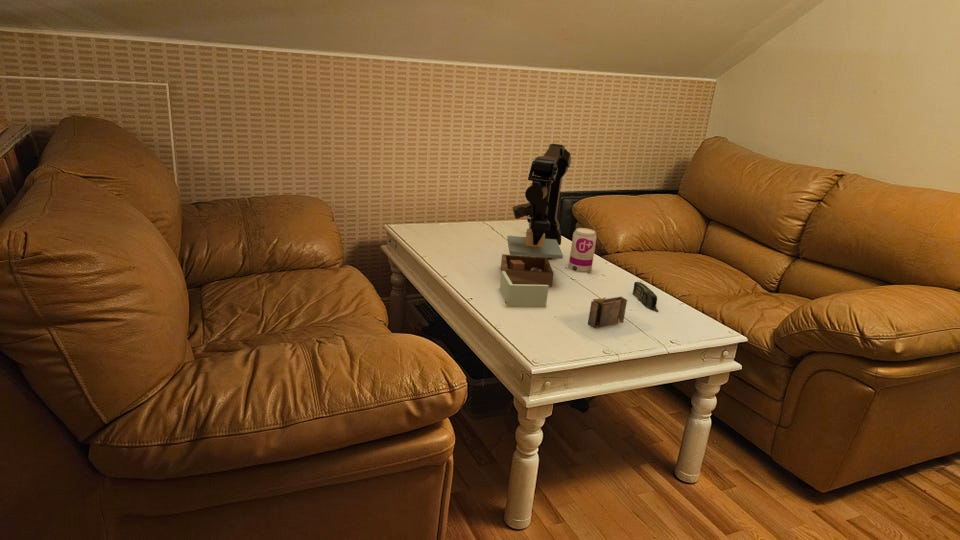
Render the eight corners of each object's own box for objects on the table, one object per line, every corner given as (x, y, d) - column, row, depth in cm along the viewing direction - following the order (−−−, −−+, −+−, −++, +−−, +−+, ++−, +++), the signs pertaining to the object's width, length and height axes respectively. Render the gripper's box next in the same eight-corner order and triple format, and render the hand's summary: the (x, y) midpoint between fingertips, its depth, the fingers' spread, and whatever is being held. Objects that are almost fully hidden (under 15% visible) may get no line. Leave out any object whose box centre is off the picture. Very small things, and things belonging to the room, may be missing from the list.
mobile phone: (633, 280, 199) (654, 297, 185) (641, 280, 199) (662, 297, 185) (630, 294, 200) (651, 312, 186) (639, 294, 201) (660, 312, 187)
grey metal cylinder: (529, 278, 203) (530, 267, 202) (539, 278, 203) (541, 267, 202) (530, 282, 200) (531, 270, 198) (540, 282, 200) (542, 271, 198)
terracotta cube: (508, 270, 208) (509, 260, 207) (519, 270, 209) (520, 259, 208) (512, 275, 204) (513, 264, 203) (523, 274, 206) (524, 263, 204)
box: (500, 268, 212) (502, 254, 210) (545, 272, 212) (547, 257, 210) (502, 285, 196) (504, 269, 195) (551, 289, 197) (553, 273, 195)
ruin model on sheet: (594, 330, 171) (599, 298, 168) (587, 325, 174) (592, 294, 171) (623, 324, 177) (629, 293, 174) (616, 320, 179) (622, 290, 176)
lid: (507, 238, 208) (508, 224, 206) (555, 242, 209) (557, 228, 207) (509, 254, 192) (511, 239, 190) (562, 258, 193) (564, 243, 191)
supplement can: (590, 275, 213) (597, 235, 208) (567, 272, 214) (573, 232, 209) (591, 268, 221) (597, 229, 216) (568, 265, 222) (574, 226, 217)
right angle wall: (545, 308, 183) (548, 286, 180) (507, 308, 181) (509, 285, 178) (535, 293, 194) (538, 271, 191) (499, 293, 192) (501, 271, 189)
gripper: (513, 189, 203) (509, 233, 208) (517, 202, 185) (512, 250, 191) (546, 191, 203) (540, 235, 209) (553, 205, 186) (546, 253, 191)
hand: (534, 243), depth 200 cm, fingers closed on lid, 3 cm apart
